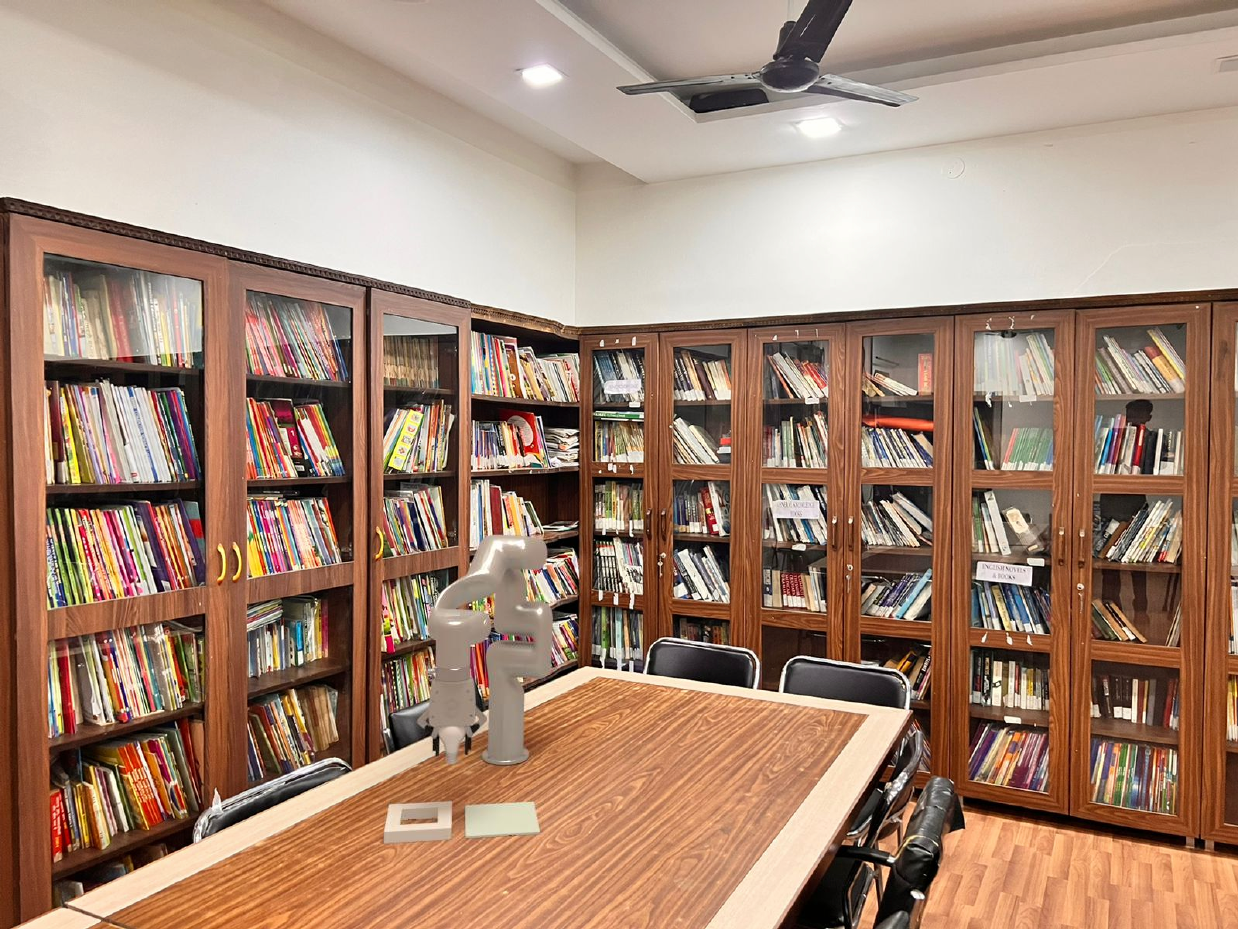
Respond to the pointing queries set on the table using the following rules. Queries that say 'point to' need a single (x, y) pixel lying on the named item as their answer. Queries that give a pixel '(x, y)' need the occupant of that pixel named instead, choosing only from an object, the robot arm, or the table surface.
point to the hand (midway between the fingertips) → (452, 752)
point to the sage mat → (500, 820)
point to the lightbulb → (451, 741)
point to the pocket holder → (418, 831)
